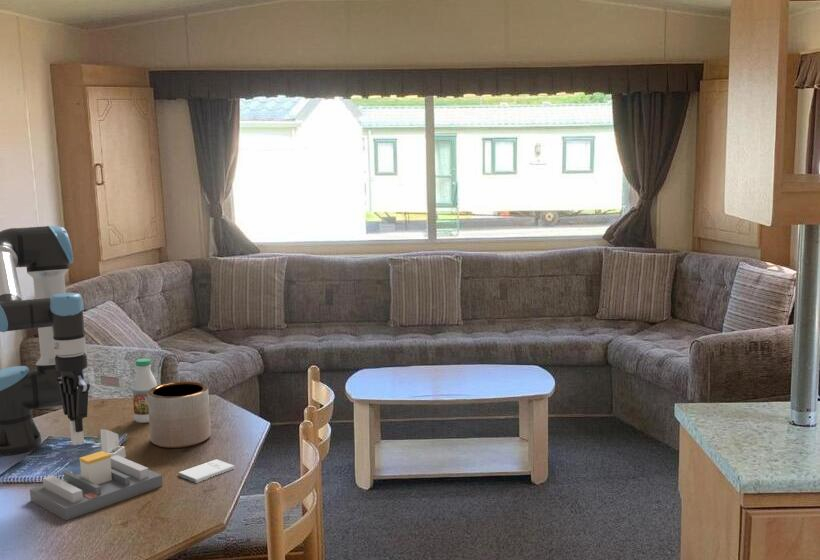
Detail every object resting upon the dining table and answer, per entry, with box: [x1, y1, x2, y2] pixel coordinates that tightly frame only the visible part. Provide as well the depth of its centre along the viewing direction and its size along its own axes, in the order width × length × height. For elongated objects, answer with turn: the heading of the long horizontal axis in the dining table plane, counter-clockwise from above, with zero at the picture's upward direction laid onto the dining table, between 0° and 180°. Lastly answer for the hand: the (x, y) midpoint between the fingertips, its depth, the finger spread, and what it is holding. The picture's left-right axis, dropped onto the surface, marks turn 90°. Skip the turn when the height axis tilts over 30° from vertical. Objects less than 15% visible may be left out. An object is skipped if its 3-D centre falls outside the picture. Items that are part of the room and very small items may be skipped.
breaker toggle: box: [79, 450, 112, 485], centre depth 210 cm, size 4×6×7 cm
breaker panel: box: [29, 455, 163, 521], centre depth 211 cm, size 18×26×5 cm
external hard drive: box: [177, 458, 235, 484], centre depth 224 cm, size 2×8×12 cm
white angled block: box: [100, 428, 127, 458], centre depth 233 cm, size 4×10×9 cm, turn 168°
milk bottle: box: [132, 358, 158, 424], centre depth 268 cm, size 8×8×20 cm
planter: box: [148, 381, 212, 449], centre depth 249 cm, size 18×18×16 cm
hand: (77, 442), depth 214 cm, fingers closed
